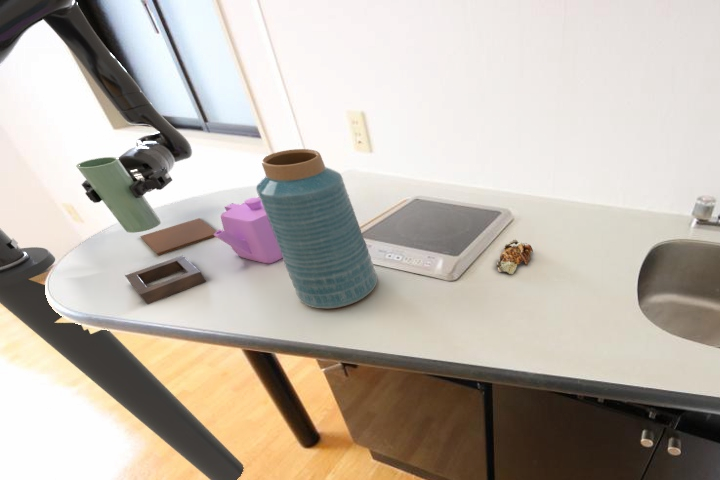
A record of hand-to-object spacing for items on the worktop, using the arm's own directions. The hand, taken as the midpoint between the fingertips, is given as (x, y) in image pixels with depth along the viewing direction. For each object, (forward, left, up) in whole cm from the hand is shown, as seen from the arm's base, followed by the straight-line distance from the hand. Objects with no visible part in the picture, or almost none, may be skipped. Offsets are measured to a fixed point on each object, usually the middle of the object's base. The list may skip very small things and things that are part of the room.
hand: (113, 195), depth 71 cm
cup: (+1, +2, -7) cm, 8 cm away
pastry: (+55, -58, -18) cm, 82 cm away
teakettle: (+21, -8, -18) cm, 28 cm away
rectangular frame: (-1, -5, -18) cm, 19 cm away
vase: (+21, -36, -18) cm, 46 cm away
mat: (+8, +18, -18) cm, 26 cm away
